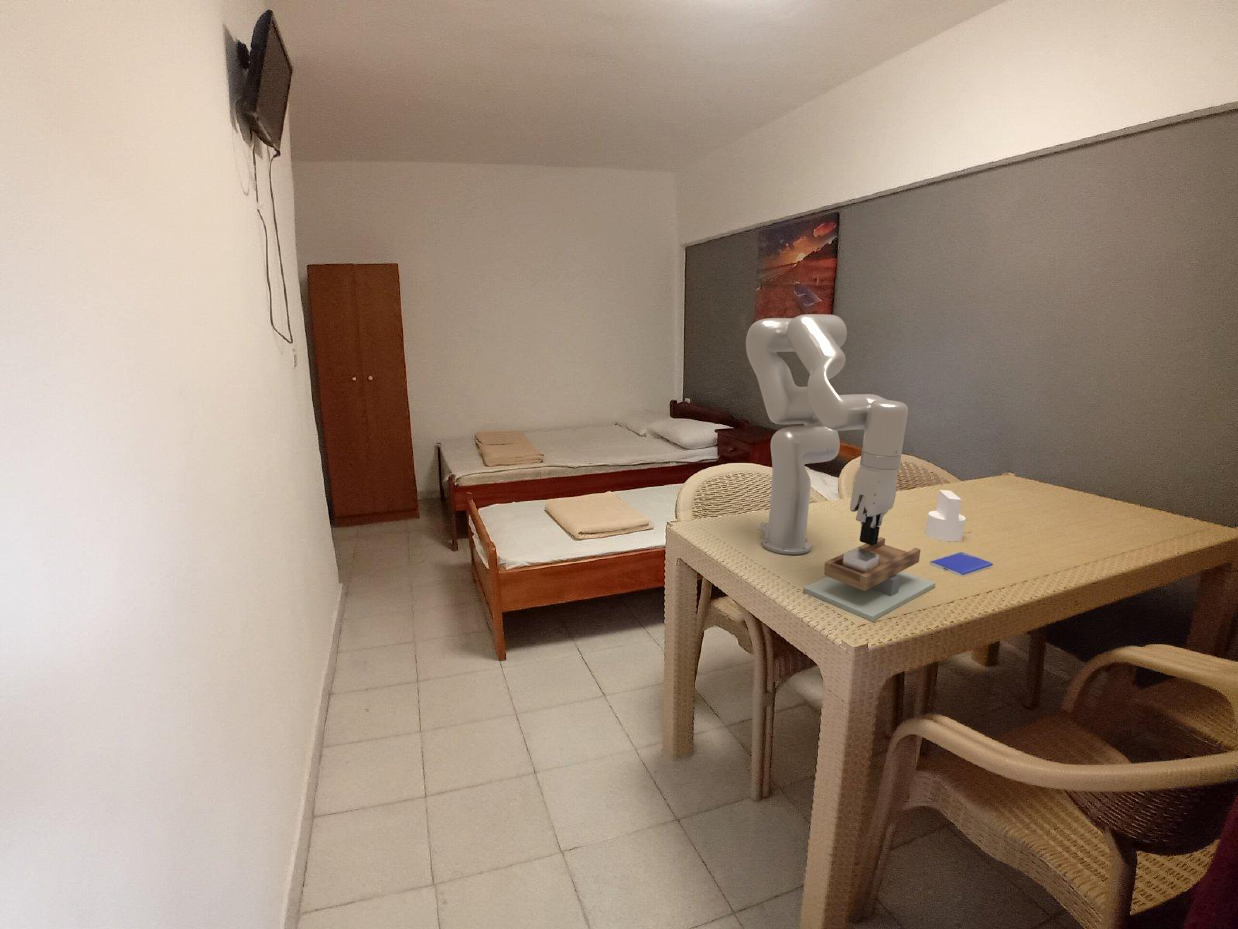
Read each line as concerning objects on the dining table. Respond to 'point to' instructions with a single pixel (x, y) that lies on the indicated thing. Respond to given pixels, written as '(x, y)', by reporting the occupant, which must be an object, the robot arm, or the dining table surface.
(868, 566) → the steel block
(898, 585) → the beam stand
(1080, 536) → the dining table surface
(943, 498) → the base with upright slab
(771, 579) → the dining table surface
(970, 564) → the hard drive
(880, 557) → the beam
